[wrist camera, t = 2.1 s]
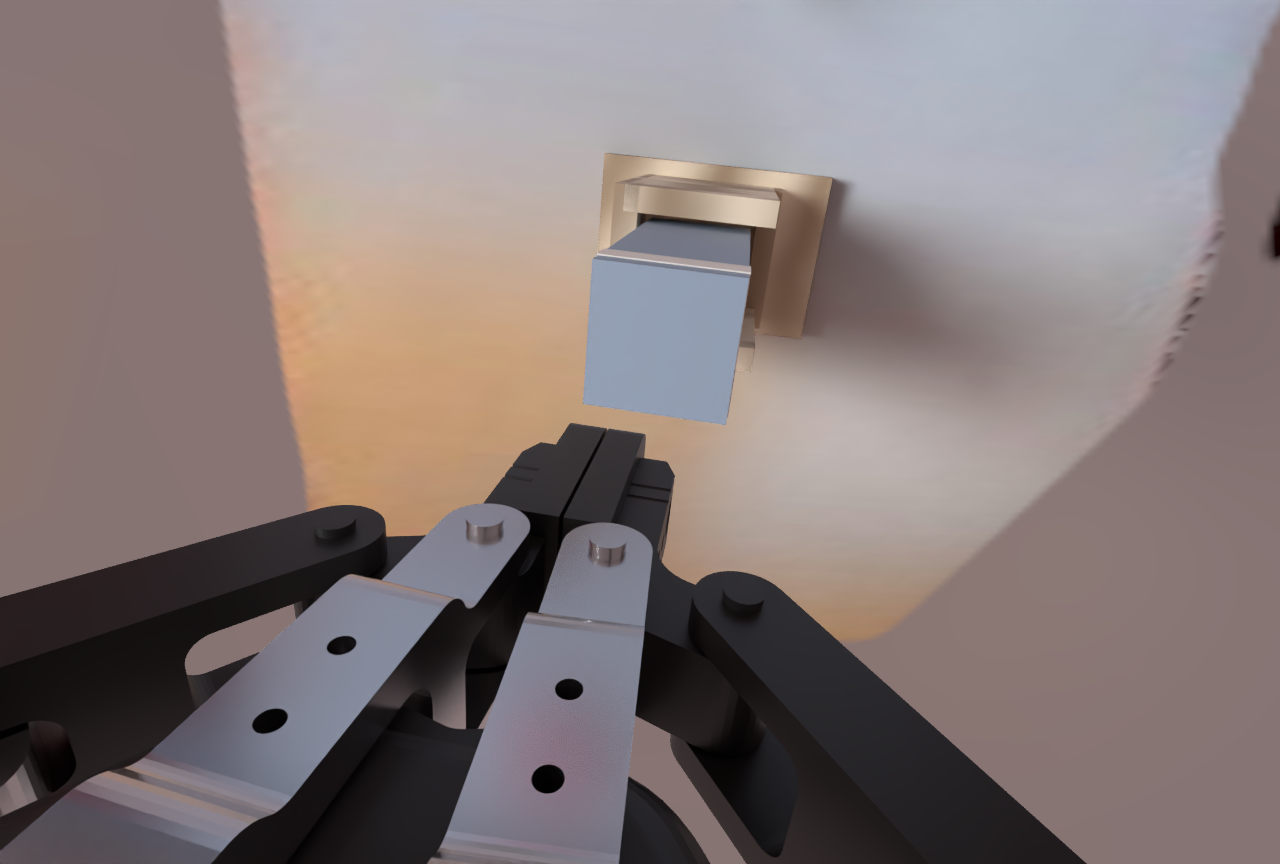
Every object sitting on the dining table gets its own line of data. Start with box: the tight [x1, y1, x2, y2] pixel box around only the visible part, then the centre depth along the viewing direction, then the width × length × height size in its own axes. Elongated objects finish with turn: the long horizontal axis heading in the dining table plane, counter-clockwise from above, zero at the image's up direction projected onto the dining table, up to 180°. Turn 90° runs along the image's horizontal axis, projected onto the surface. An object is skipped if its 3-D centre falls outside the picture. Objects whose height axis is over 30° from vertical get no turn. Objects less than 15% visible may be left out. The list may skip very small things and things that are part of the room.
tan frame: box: [598, 153, 833, 372], centre depth 38 cm, size 14×10×13 cm
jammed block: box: [583, 217, 751, 425], centre depth 28 cm, size 5×5×14 cm
